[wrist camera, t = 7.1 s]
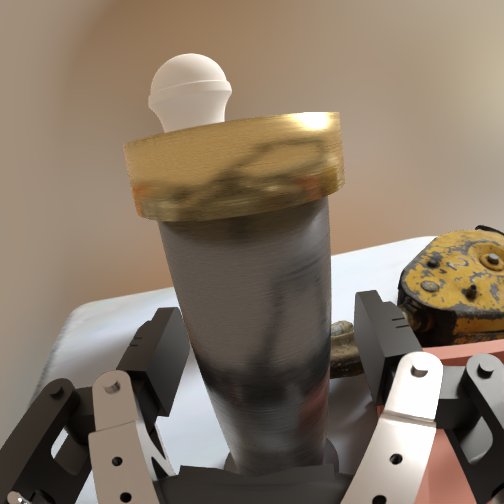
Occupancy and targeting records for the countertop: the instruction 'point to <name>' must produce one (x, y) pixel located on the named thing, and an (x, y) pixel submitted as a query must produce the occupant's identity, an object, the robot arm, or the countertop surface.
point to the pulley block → (442, 297)
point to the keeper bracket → (442, 454)
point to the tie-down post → (252, 272)
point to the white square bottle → (189, 92)
